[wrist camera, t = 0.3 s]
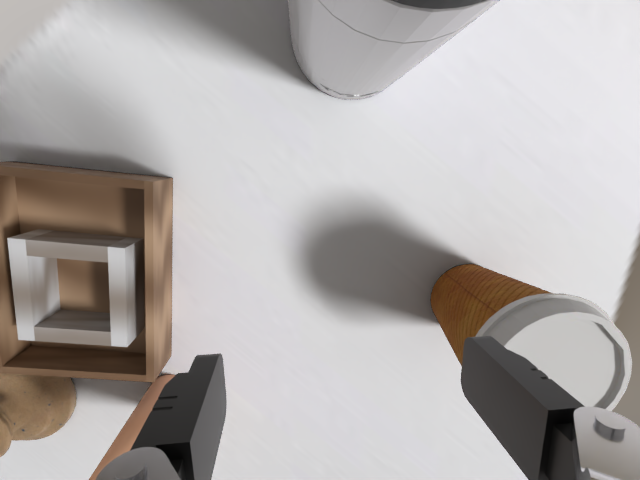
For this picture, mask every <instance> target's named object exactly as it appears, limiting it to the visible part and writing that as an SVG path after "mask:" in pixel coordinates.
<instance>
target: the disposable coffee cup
mask: <svg viewBox="0 0 640 480" xmlns="http://www.w3.org/2000/svg"><path fill="white" fill-rule="evenodd" d="M431 307H432V310H433V313H434V315H435V316H436V318H437V320H438V322H439V324H440V326H441V328H442V330H443V332H444V333H445V336H446V337H447V339H448V341H449V343H450V345H451V347H452V349H453V351H454V352H455V355H456V356H457V358H458V360H459V362H460V364H461V366H462V360H463V348H464V341H465V339H466V338H467V337H479V336H491V337H493V338H494V339H495V340H497V341H498V342H499V343H500V344H501V345H503V346H504V347H505V348H506V349H507V350H510V351H512V352H514V353H516V354H518V355H521V356H523V357H525V358H526V359H527V360H529V361H530V362H531V363H532V364H533V365H535V366H536V367H537V368H538V370H541V371H542V372H543V373H545V374H546V375H547V376H548V378H549V379H552V380H553V381H554V382H556V383H557V384H558V385H559V386H560V387H562V388H563V389H564V390H565V391H567V392H568V393H569V394H570V395H572V396H573V397H574V398H575V399H576V400H578V401H579V402H580V403H581V404H583V405H584V406H585V407H586V406H590V407H598V408H603V409H606V410H609V411H612V410H613V409H614V408H615V407H616V405H617V404H618V402H619V400H620V399H621V397H622V396H623V394H624V392H625V391H626V389H627V385H628V382H629V379H630V376H631V368H632V360H631V354H630V349H629V345H628V342H627V340H626V339H625V337H624V336H623V334H622V333H621V331H620V330H619V329H618V328H617V327H616V326H615V325H614V322H613V321H612V320H611V318H610V317H609V315H608V314H607V313H606V312H605V311H604V310H602V309H601V308H600V307H599V306H598V305H596V304H594V303H592V302H591V301H589V300H586V299H584V298H581V297H577V296H572V295H567V294H553V293H550V292H548V291H545V290H542V289H540V288H536V287H535V286H532V285H529V284H526V283H523V282H521V281H518V280H516V279H513V278H510V277H507V276H505V275H502V274H499V273H497V272H494V271H491V270H489V269H486V268H483V267H481V266H478V265H474V264H465V265H460V266H456V267H453V268H451V269H450V270H448V271H446V272H445V273H444V274H443V275H442V276H441V277H440V278H439V279H438V280H437V282H436V283H435V285H434V287H433V290H432V293H431Z"/></svg>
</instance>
